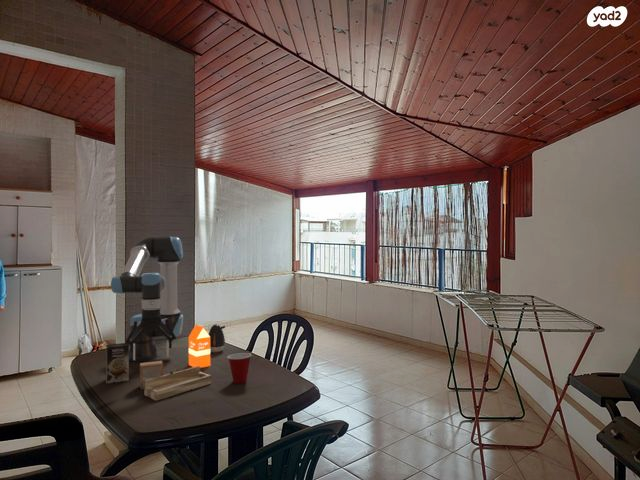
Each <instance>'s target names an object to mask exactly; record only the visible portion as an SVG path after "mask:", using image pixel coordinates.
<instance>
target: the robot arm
mask: <svg viewBox="0 0 640 480" xmlns="http://www.w3.org/2000/svg"><path fill="white" fill-rule="evenodd" d="M183 250H184V249H183V243H182V241H181V238H179V237H178V236H148V237H145V238H143V239H140V240H139V241H137V242H136V243H135V244H134V245H133V246H132V247H131V249H130V251H129V258H128V260H127V262H126V264H125V266H124V268H123V270H122V272H121V274H120V275H118V276H113V277H112V278H111V281H110V290H111V292H112V293H113V294H136V293H137V294H139V293H141V309H142V310H141V313H139V314H136V315H133V316H132V317H131V318H130V325H129V326H130V332H129V333H128V335H127V338H126V339H125V343H126V344H128V345H129V362H130V361H131V362H144V361H150V360H154V359H155V358H157V357H158V349H157V347H156V344H155V338H166V339H167V340H166V357H170V349H171V348H172V346H173V345H172V344H173V343H172V341H174V340H176V337H178V336H180V335H181V334H182V331H183V325H184V314H182V313H181V310H180V309H179V308H178V264H179V263H180V262H181V259H183V257H184V251H183ZM149 259H155V260H156V259H157V260H156V261H157V264H159V265H160V270H159V271H160V273H159V272H147V273H146V272H145V273H142V275H141V272H142V269H144V265H145V263H146V262H147V261H148V260H149Z"/></svg>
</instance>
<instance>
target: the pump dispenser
mask: <svg viewBox="0 0 640 480" xmlns="http://www.w3.org/2000/svg"><path fill="white" fill-rule="evenodd" d="M225 328H226V325H223V326H220V325H219V324H217V323H216V324H213V325H211V327H210V329H209V331H208V334H209V336H210V353H219V352H222V351H223V350H224V349H225V345H226V338H225V333H224V331H223V329H225Z"/></svg>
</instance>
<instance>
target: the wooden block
mask: <svg viewBox="0 0 640 480" xmlns="http://www.w3.org/2000/svg"><path fill="white" fill-rule="evenodd" d="M163 375H164V363H163V360H157V361H148V362H141V363H140V362H139V388H140V389H141V390H140V391H142V389H143V390H144V380H148V379H152V378H155V377H159V376H163Z"/></svg>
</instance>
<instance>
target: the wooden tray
mask: <svg viewBox="0 0 640 480" xmlns="http://www.w3.org/2000/svg"><path fill="white" fill-rule="evenodd" d="M169 372H170V373H166V374H163V376H159V377H155V378H152V379H148V380H144V389H143V390H144V396H146V397H148V398H150V399H152V400H153V401H160V400H162V399H167V398H170V397H172V396H177V395H179V394H181V393H185V392H188V391H191V389H192V390H195V389H198V388H201V387H204V386H207V385H211V384H212V375H211V374H208V373H205V372H202V371H201V368H200V366H196V367H192V366H191V367H189V368H186V369H185V368H184V369H182V370H178V371H173V370H170V371H169Z"/></svg>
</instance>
